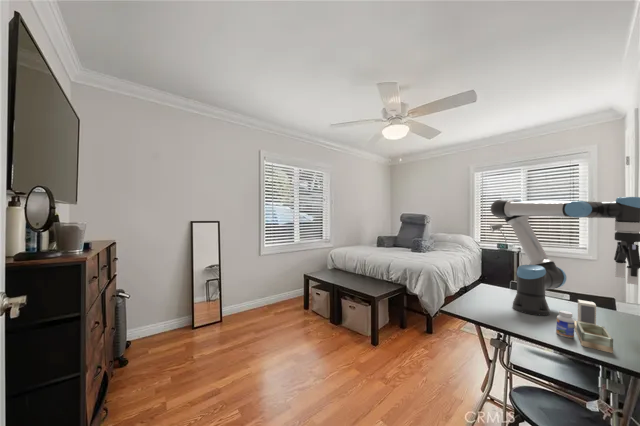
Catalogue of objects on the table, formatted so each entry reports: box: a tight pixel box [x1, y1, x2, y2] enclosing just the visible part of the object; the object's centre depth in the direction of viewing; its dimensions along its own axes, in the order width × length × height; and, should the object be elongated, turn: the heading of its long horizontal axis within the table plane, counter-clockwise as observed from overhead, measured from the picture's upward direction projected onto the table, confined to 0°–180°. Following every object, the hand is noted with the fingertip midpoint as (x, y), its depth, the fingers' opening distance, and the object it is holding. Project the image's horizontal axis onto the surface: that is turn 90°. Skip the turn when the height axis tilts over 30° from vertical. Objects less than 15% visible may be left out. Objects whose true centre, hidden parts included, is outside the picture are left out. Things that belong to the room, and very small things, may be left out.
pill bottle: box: [555, 310, 575, 339], centre depth 107 cm, size 5×5×10 cm
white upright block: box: [577, 299, 597, 325], centre depth 112 cm, size 5×6×10 cm
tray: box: [574, 320, 614, 354], centre depth 105 cm, size 8×25×5 cm, turn 141°
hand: (625, 280), depth 111 cm, fingers open, 13 cm apart
